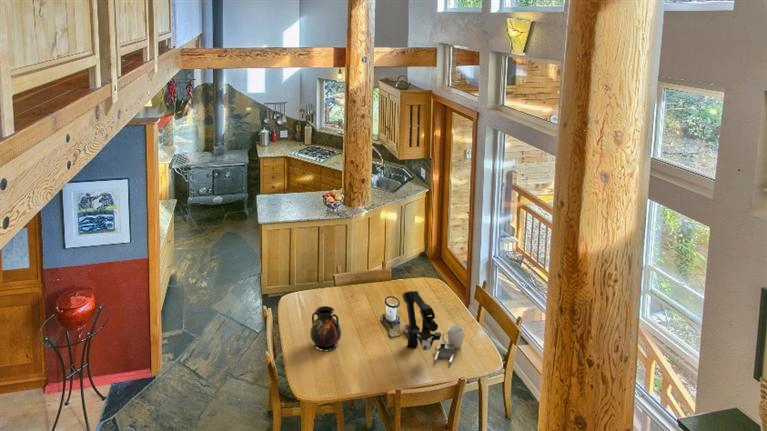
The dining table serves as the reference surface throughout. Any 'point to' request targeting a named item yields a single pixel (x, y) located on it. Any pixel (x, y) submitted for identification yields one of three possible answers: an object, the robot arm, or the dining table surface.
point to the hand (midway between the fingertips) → (426, 346)
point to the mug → (455, 336)
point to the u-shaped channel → (445, 351)
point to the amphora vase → (325, 329)
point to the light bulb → (426, 344)
